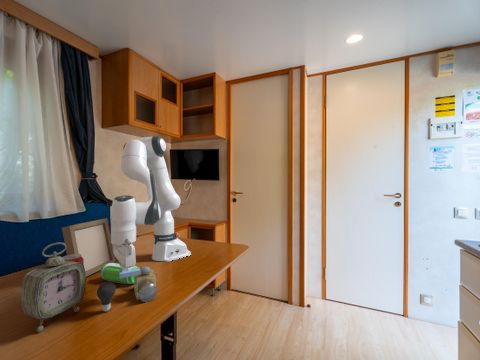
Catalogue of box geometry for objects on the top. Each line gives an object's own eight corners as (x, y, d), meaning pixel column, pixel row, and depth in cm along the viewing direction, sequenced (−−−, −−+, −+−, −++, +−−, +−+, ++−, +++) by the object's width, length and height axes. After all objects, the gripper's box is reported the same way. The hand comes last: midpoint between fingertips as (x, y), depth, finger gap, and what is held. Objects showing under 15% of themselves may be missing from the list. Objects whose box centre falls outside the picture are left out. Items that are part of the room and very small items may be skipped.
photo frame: (115, 264, 121) (115, 218, 121) (79, 281, 100) (79, 226, 100) (92, 262, 124) (92, 217, 124) (53, 279, 103) (53, 225, 103)
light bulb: (102, 306, 80) (102, 279, 80) (118, 306, 80) (118, 278, 80) (93, 316, 74) (93, 286, 74) (110, 315, 75) (110, 285, 75)
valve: (150, 284, 97) (150, 265, 97) (158, 299, 85) (157, 278, 85) (133, 288, 93) (133, 269, 93) (138, 304, 81) (138, 282, 81)
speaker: (142, 280, 101) (142, 264, 101) (130, 288, 94) (130, 270, 94) (112, 275, 107) (112, 260, 107) (98, 282, 100) (98, 265, 100)
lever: (148, 270, 92) (148, 265, 92) (150, 273, 89) (150, 268, 89) (119, 276, 86) (119, 271, 86) (119, 279, 83) (119, 274, 83)
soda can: (64, 300, 84) (64, 261, 84) (55, 295, 88) (55, 257, 88) (87, 291, 91) (87, 255, 91) (78, 287, 95) (78, 252, 95)
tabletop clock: (36, 337, 64) (35, 251, 64) (17, 330, 67) (17, 247, 68) (85, 310, 78) (85, 238, 78) (68, 305, 81) (68, 236, 81)
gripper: (140, 241, 81) (140, 279, 81) (126, 231, 97) (126, 263, 97) (121, 244, 77) (120, 284, 77) (109, 233, 93) (109, 266, 93)
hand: (123, 272), depth 87 cm, fingers closed
